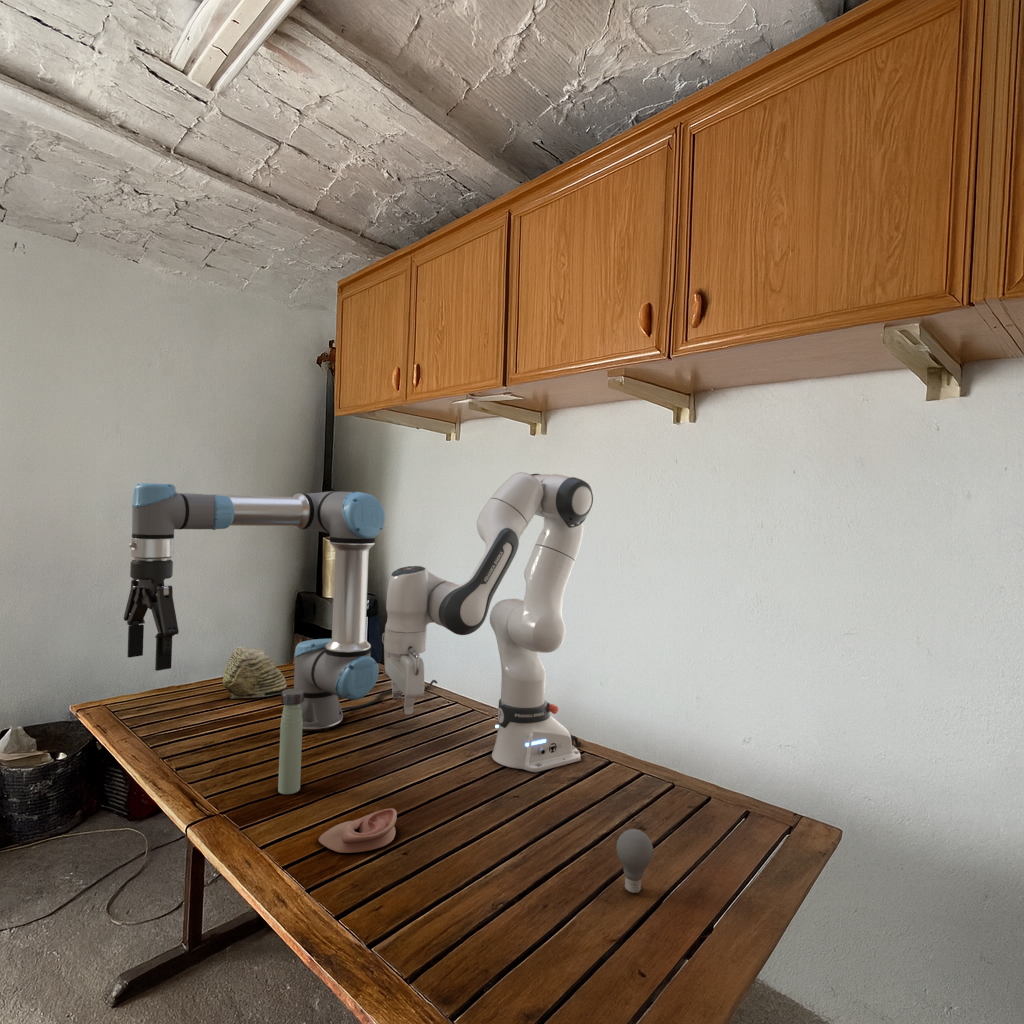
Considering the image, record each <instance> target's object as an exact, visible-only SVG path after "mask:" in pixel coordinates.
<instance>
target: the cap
mask: <svg viewBox="0 0 1024 1024" xmlns="http://www.w3.org/2000/svg"><path fill="white" fill-rule="evenodd" d="M280 695H281V697H280V702H281V704H282V705H298V704H301V703H303V701H304V691H303V690H302V689H294V688H286V690H284V691H282V693H280Z"/></svg>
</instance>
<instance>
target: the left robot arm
mask: <svg viewBox="0 0 1024 1024" xmlns="http://www.w3.org/2000/svg"><path fill="white" fill-rule="evenodd" d="M385 515H386V513H385V511H384V508H383V505H382V503H381V502H380V501H379V500H378V498H377V497H375V495H373V494H370V493H367V492H363V491H362V492H361V491H337V490H336V491H335V490H333V491H332V490H330V491H321V492H311V493H295V494H294V495H293V496H276V495H275V496H274V495H273V496H272V495H248V494H247V495H246V494H244V495H243V494H220V493H219V494H218V493H217V494H216V493H215V494H214V493H189V492H187V493H186V492H177V491H176V486H175V485H174V484H173V483H152V482H139V483H137V484H136V485H135V486H134V488H133V492H132V501H131V520H132V521H131V542H130V543H128V547H129V548H130V549H131V550H130V556H131V558H133V559H132V560H131V561H130V567H129V568H130V571H129V574H130V575H129V576H130V578H131V581H130V590H129V594H128V598H127V603H126V607H125V610H124V615H123V621H124V622H126V624H127V626H128V629H127V630H128V631H127V658H135V657H142V656H144V635H145V634H144V630H145V625H144V624H145V623H146V621H145V619H144V618H145V616H146V615H147V612H148V609H149V610H151V613H152V618H153V620H154V624H155V627H156V631H157V633H156V635H155V636H154V638H155V661H154V663H155V665H154V668H155V669H154V670H155V671H157V672H159V671H164V670H169V669H172V659H173V657H172V655H173V637H175V636H176V635H179V632H180V631H179V625H178V619H177V615H176V614H177V613H176V609H175V603H174V597H173V595H174V593H173V585H165V580H167V579H171V578H172V577H173V575H174V573H173V572H174V561H173V560H172V559H171V558H173V557H174V554H175V553H174V552H175V530H213V531H215V530H224V529H228V528H230V526H233V527H234V526H237V527H238V526H240V527H243V526H246V527H247V526H249V527H250V526H258V527H259V526H268V527H269V526H276V527H277V526H282V527H284V526H285V527H286V526H287V527H288V526H289V527H290V526H291V527H293V528H294V529H296V530H308V531H309V530H310V531H316V532H319V533H325V534H329V544H330V545H331V546H332V547H333V548H334V550H335V551H334V572H333V573H334V577H333V599H332V625H331V626H332V627H331V638H317V639H308V640H304V641H300V642H299V643H297V645H296V646H295V650H294V655H293V657H294V672H293V673H294V674H293V689H302V690H303V691H304V701H303V703H301V704H300V705H301V710H302V712H301V713H302V722H303V725H302V733H316V732H325V731H329V730H332V729H335V728H337V727H339V726H340V725H342V723H343V722H344V714H343V711H347V710H355V709H360V708H364V707H367V706H370V705H373V704H375V703H376V702H377V701H378V700H379V699H380V698H381V697H382V696H384V695H387V694H392V693H393V691H392V689H391V690H386V691H383V692H380V693H379V694H378V695H377V696H376V698H375V699H373V700H371V701H368V702H366V703H362V704H359V705H353V706H344V707H342V706H341V702H340V699H339V698H341V699H342V700H343V699H344V700H348V701H349V700H350V701H357V700H360V699H362V698H364V697H365V696H367V695H368V694H370V692H371V690H372V689H374V687H375V685H376V683H377V682H378V678H379V674H380V672H379V671H380V670H379V669H380V668H379V665H378V663H377V662H376V660H375V659H374V657H371V652H372V649H371V648H372V644H371V643H370V642H368V640H367V639H366V631H367V607H368V606H367V605H368V604H367V602H368V582H369V581H368V579H369V555H370V553H369V552H370V550H371V548H372V547H374V545H375V544H376V536H378V535H379V534H380V533H381V530H383V528H384V526H385V522H386V521H385V520H386V516H385ZM433 684H438V681H437V680H436V679H432V680H431V681H430V682H429V684H428V685H425V686H424V690H427V689H429V688H431V687H432V685H433ZM429 685H430V686H429Z"/></svg>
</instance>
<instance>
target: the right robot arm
mask: <svg viewBox="0 0 1024 1024" xmlns="http://www.w3.org/2000/svg"><path fill="white" fill-rule="evenodd" d="M593 503H594V494H593V490H592V487H591V485H590V484H589V483H588V482H586V481H585V480H583V479H581V478H578V477H575V476H567V475H562V474H557V473H556V474H555V473H553V474H547V473H546V474H544V473H543V474H540V473H531V474H530V473H528V472H522V471H521V472H516V473H514V474H512V475H511V476H510V477H508V479H506V480H505V481H504V482H503V483H502V484H501V485H500V486H499V487H498V488H497V490H496V491H495V492H493V494H492V495H491V497H489V499H488V501H487V502H486V503H485V504H484V506H483V507H482V509H481V511H480V513H479V515H478V516H477V519H476V530H477V533H478V535H479V537H480V539H481V540H482V541H483V542H484V544H485V551H484V553H483V555H482V557H481V559H480V560H479V562H478V563H477V566H476V567H475V568H474V571H472V574H471V575H470V577H469V579H468V580H467V581H465V582H463V583H461V584H458V583H455V582H452V581H449V580H445V579H443V578H441V577H438V576H437V575H435V574H433V573H431V572H430V571H428V569H426V567H424V566H422V565H410V566H409V565H408V566H404V567H399V568H397V569H396V570H394V571H393V572H392V573H391V575H390V577H389V580H388V584H387V592H386V601H385V602H386V603H385V608H386V615H387V617H386V618H387V619H386V623H385V626H384V632H383V633H382V635H381V642H382V644H383V653H384V654H383V656H384V657H383V660H384V663H383V664H384V671H385V674H386V675H387V676H388V678H389V679H390V684H391V690H392V691H393V692H392V693H391V695H392V699H393V700H394V701H401V700H402V699H403V695H404V703H403V704H402V712H403V714H405V715H406V716H407V715H412V714H413V713H414V706H415V703H416V700H417V698H422V697H423V696H424V695H425V689H424V687H425V664H424V663H425V662H424V660H423V659H422V658H421V657H420V654H423V653H424V652H426V649H427V634H428V633H427V629H428V625H429V624H431V623H432V624H433V623H434V624H436V625H438V626H441V627H442V628H443V627H444V628H445V629H447V630H448V631H450V632H452V633H453V634H455V635H458V636H468V635H470V634H473V633H475V632H476V631H477V630H478V629H480V628H481V627H482V626H483V624H484V622H485V621H486V618H487V615H488V612H489V609H490V606H491V603H492V599H493V597H494V595H495V593H496V591H497V589H498V588H499V586H500V584H501V582H502V581H503V578H504V577H505V575H506V573H507V571H508V570H509V568H510V566H511V564H512V562H513V561H514V559H515V556H516V555H517V552H518V549H519V547H520V546H519V544H520V540H521V537H522V535H523V534H524V532H525V531H526V529H527V527H528V526H529V525H530V524H531V522H532V520H533V518H534V517H535V516H538V517H541V518H543V528H542V530H541V531H540V534H539V535H538V538H537V539H536V541H535V544H534V546H533V549H532V551H531V554H530V556H529V558H528V561H527V562H526V566H525V568H524V571H523V577H524V581H525V592H524V598H523V599H520V598H505V599H500V600H499V601H497V602H496V603H495V604H494V605H493V606H492V608H491V610H490V613H489V624H490V626H491V629H492V631H493V633H494V635H495V640H496V645H497V649H498V655H499V661H500V672H501V673H500V674H501V675H500V677H501V679H500V681H501V682H500V698H499V700H498V707H497V723H498V724H495V726H494V727H495V729H497V731H496V738H495V743H494V746H493V749H492V752H491V758H492V760H493V761H494V762H496V763H497V764H499V765H501V766H503V767H507V768H512V769H518V770H519V769H520V770H525V771H527V772H531V773H539V772H544V771H546V770H550V769H554V768H558V767H561V766H566V765H571V764H573V763H577V762H580V761H581V759H582V757H581V753H580V751H579V749H578V748H577V747H578V746H581V745H582V741H579V738H578V737H577V736H576V735H574V734H572V733H570V732H569V730H568V728H566V727H565V726H564V725H563V724H562V723H561V722H559V721H558V720H556V719H555V718H554V717H553V716H552V715H551V714H553V715H556V714H558V712H559V707H558V706H557V705H555V704H554V703H550V702H549V701H547V700H546V677H547V673H546V669H545V666H544V664H543V663H542V661H541V658H540V653H541V654H542V653H543V654H545V653H547V654H548V653H553V652H555V651H557V650H558V649H559V648H560V647H561V646H562V644H563V643H564V641H565V638H566V635H567V634H566V633H567V628H566V623H565V621H564V618H563V603H564V602H563V601H564V593H565V590H566V586H567V584H568V581H569V578H570V575H571V573H572V570H573V568H574V565H575V562H576V559H577V557H578V554H579V552H580V548H581V545H582V540H583V535H584V530H585V529H584V524H583V523H584V522H585V521H586V519H587V517H588V516H589V514H590V512H591V509H592V507H593ZM574 744H575V745H576V746H577V747H575V746H574Z"/></svg>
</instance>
